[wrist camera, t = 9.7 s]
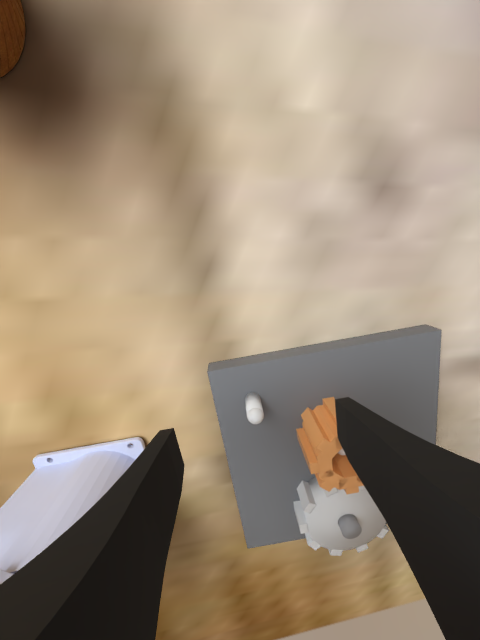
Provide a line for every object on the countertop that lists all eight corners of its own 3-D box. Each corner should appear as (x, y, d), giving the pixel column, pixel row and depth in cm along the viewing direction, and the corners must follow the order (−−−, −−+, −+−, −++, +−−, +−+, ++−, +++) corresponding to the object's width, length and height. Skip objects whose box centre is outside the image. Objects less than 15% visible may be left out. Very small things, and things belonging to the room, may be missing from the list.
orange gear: (300, 460, 21) (314, 500, 18) (292, 404, 20) (306, 435, 16) (365, 449, 21) (391, 486, 18) (362, 391, 20) (391, 420, 16)
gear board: (246, 531, 25) (250, 586, 21) (208, 363, 20) (203, 391, 16) (420, 500, 25) (458, 549, 21) (426, 324, 20) (477, 342, 16)
